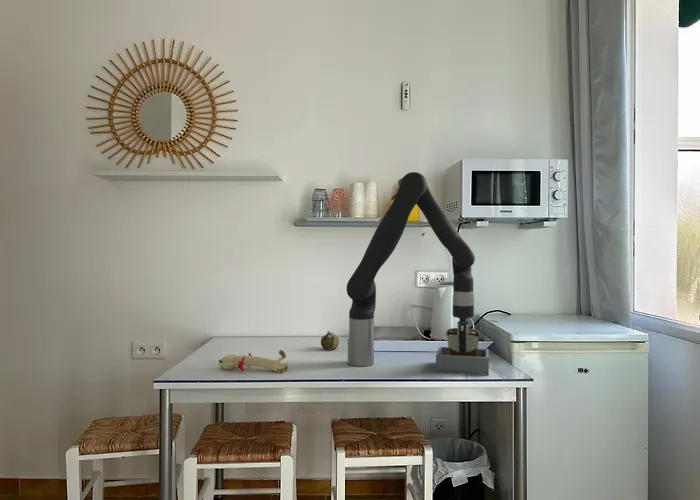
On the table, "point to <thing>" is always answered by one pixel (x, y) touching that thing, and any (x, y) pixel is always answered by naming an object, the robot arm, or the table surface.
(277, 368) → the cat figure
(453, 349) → the food container
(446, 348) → the grey bin
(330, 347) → the onion
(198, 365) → the table surface
